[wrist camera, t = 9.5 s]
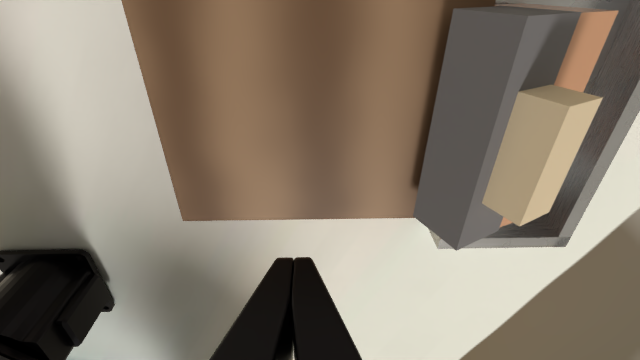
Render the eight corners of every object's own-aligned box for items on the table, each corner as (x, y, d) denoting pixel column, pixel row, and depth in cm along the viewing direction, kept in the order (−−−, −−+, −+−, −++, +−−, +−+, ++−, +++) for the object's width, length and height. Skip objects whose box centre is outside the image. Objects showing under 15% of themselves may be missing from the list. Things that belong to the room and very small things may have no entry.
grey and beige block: (413, 215, 18) (488, 276, 14) (453, 8, 12) (590, 22, 9) (452, 200, 19) (531, 253, 15) (505, 5, 14) (643, 17, 10)
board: (197, 191, 21) (182, 220, 19) (147, -25, 15) (114, -25, 13) (425, 189, 22) (440, 217, 19) (469, -24, 15) (501, -24, 13)
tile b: (536, 119, 14) (575, 111, 15) (576, 13, 12) (618, 10, 12) (464, 93, 17) (499, 87, 18) (486, 4, 15) (524, 3, 16)
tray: (423, 218, 23) (437, 248, 21) (491, -92, 14) (530, -107, 12) (537, 217, 23) (565, 246, 21) (676, -90, 14) (756, -104, 12)
